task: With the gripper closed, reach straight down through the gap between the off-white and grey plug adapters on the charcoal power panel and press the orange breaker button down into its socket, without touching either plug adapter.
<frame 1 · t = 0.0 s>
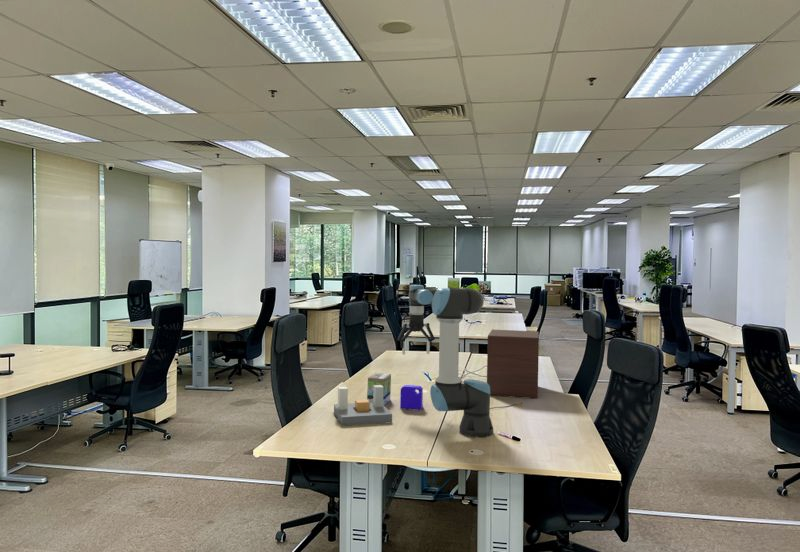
hand: (415, 353, 281), 28 cm above the table, tool pointing down, fingers open, 13 cm apart
storage cube: (513, 391, 324), on the table
grey plug adapter: (378, 406, 266), point 4 cm above the table, touching power panel
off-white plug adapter: (342, 407, 261), point 4 cm above the table, touching power panel
bracket: (414, 405, 284), on the table
breaker button: (362, 406, 259), point 6 cm above the table, slide at 0.0 cm
tea box: (378, 402, 289), on the table
power panel: (362, 417, 259), on the table
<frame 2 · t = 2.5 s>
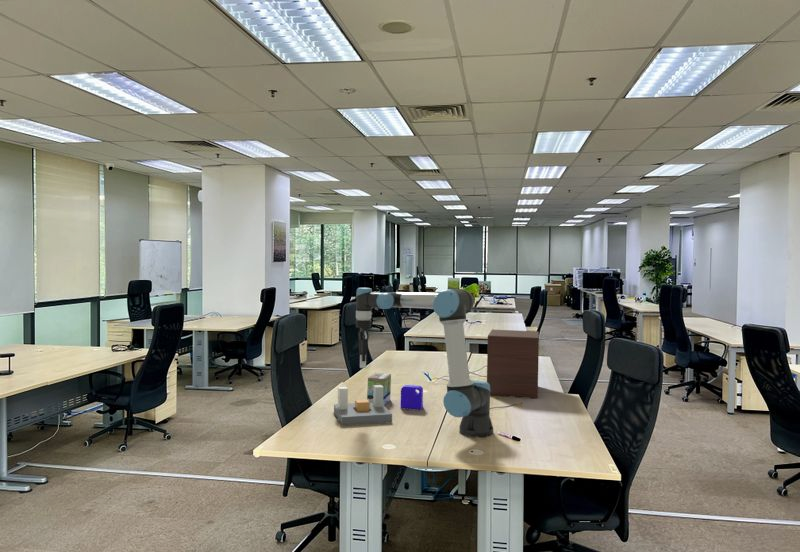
hand: (362, 367, 259), 24 cm above the table, tool pointing down, fingers closed
nothing on the table moved.
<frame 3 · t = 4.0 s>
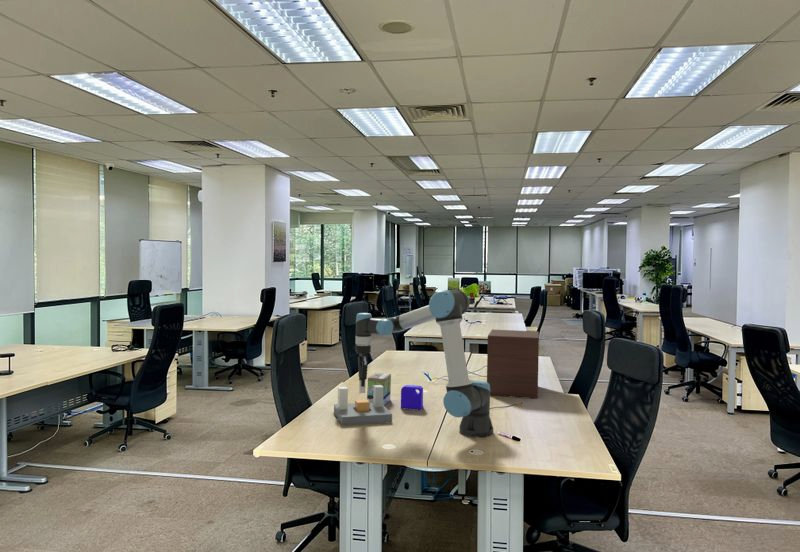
hand: (362, 392, 259), 12 cm above the table, tool pointing down, fingers closed
nothing on the table moved.
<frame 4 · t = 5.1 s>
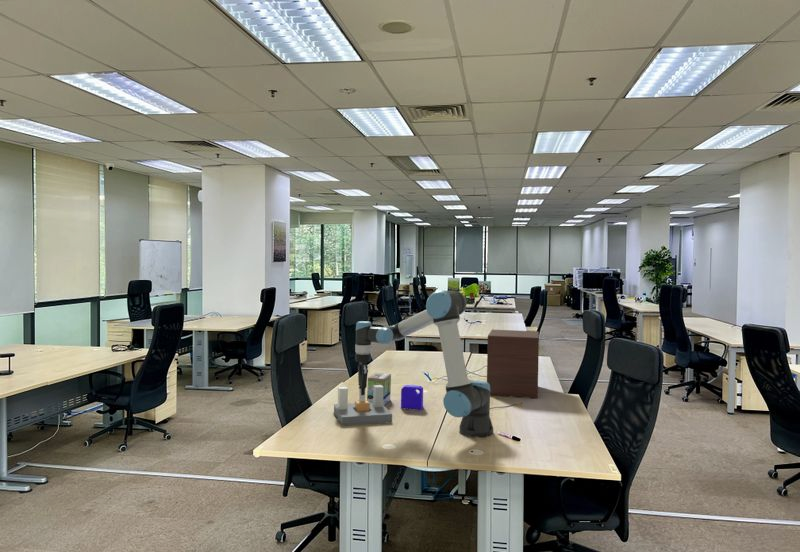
hand: (362, 401, 259), 8 cm above the table, tool pointing down, fingers closed
breaker button: (362, 406, 259), point 5 cm above the table, slide at 0.4 cm, touching gripper
everything else where it was.
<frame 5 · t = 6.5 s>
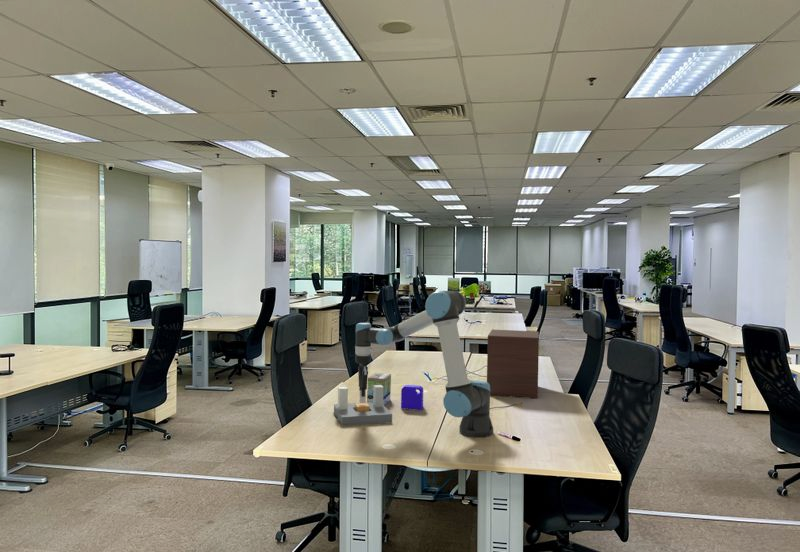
hand: (362, 402, 259), 7 cm above the table, tool pointing down, fingers closed
breaker button: (362, 410, 259), point 4 cm above the table, slide at 2.0 cm
everything else where it was.
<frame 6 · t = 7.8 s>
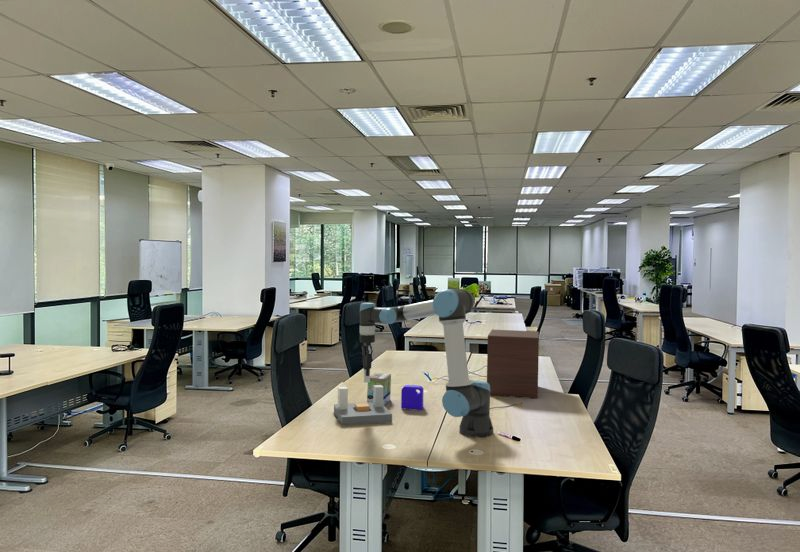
hand: (366, 382, 260), 17 cm above the table, tool pointing down, fingers closed
nothing on the table moved.
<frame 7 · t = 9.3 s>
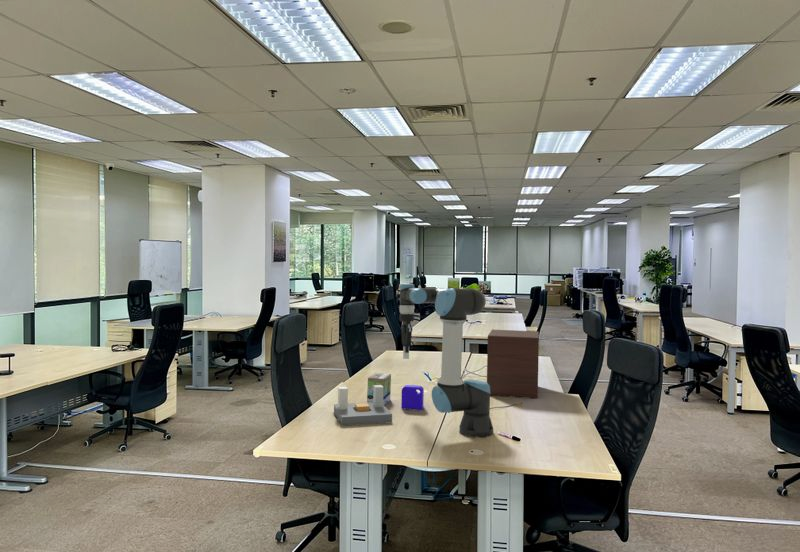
hand: (406, 358, 276), 26 cm above the table, tool pointing down, fingers closed
nothing on the table moved.
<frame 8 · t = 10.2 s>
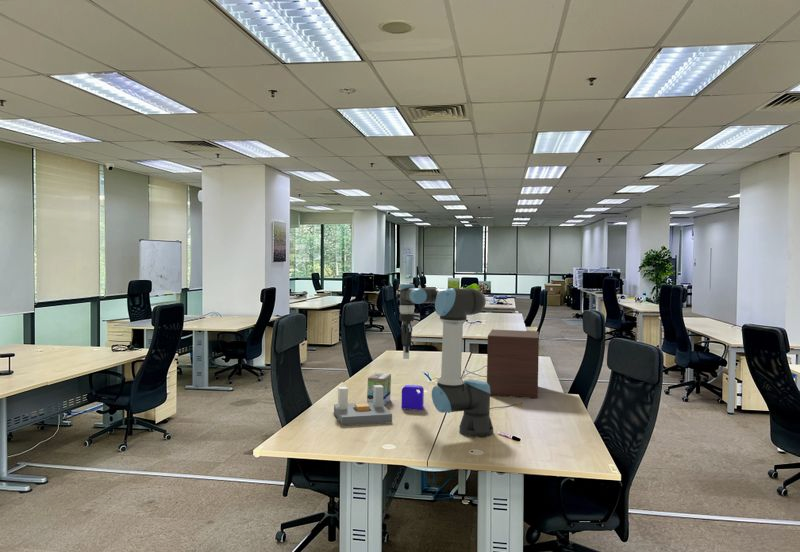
hand: (406, 358, 276), 26 cm above the table, tool pointing down, fingers closed
nothing on the table moved.
at the end: breaker button slide at 2.0 cm; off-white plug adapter moved 0.0 cm from its start; grey plug adapter moved 0.0 cm from its start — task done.
